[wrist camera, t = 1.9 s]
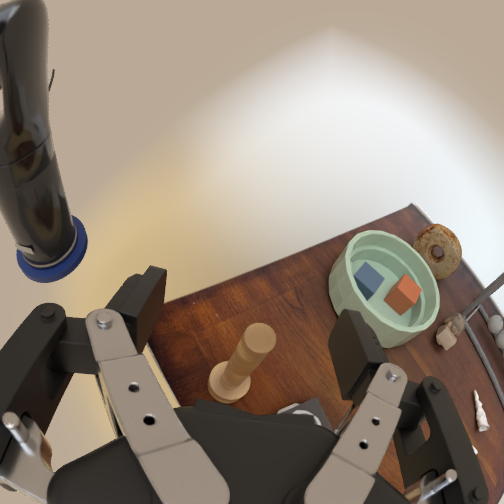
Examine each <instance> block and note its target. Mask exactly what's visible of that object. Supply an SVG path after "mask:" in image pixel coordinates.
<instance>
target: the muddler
mask: <svg viewBox="0 0 504 504" xmlns="http://www.w3.org/2000/svg"><path fill="white" fill-rule="evenodd" d="M275 345H276V335H275V332H274V331H273V329H272V328H271V327H269V326H268V325H266V324H263V323H254V324H252V325H250V326H249V327H248V328H247V329H246V330H245V332H244V334H243V336H242V338H241V340H240V342H239V343H238V345H237V347H236V349H235V351H234V353H233V355H232V356H231V358H230V360H229V361H225V362H221V363H219V364H218V365H216V366H215V367H214V368H213V370H212V371H211V374H210V376H209V379H208V384H207V385H208V390H209V393H210V394H211V396H212V397H213V398H214V399H215V400H217V401H219V402H221V403H233V402H236V401H238V400H239V399H240V398H241V397H243V396H244V395H245V394H246V393H247V392H248V390H249V388H250V384H251V378H250V374H251V373H252V372H253V370H254V369H255V368H256V367H257V366H258V365H259V364H260V363H261V362H262V361H263V359H264V358H265V357H266V356H267V355H268V354H269V353H270V352H271V350H272V349H273V348H274V347H275Z"/></svg>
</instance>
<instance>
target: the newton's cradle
mask: <svg viewBox="0 0 504 504" xmlns="http://www.w3.org/2000/svg"><path fill="white" fill-rule="evenodd" d="M503 284H504V273H503V274H501V275H500V276H499V277H498V278H497V279H496V280H495V281H494V282H493V283H491V284H490V285H489V286H488V287H487V288H486V289H484V290H483V291H482V292H481V293H480V294H479V295H478V296H477V299H476V300H475V301H474V302H473V303H471V304H470V305H469V306H468V307H466V308H465V309H464V310H463V311H462V314H461V315H462V316H463V318H464V320H465V322H466V327H465V329H466V331H467V333H468V335H469V337H470V339H471V340H472V342H473V344H474V346H475V348H476V350H477V352H478V354H479V356H480V358H481V359H482V361H483V364H484V366H485V368H486V370H487V372H488V374H489V376H490V378H491V380H492V383H493V385H494V387H495V389H496V392H497V394H498V396H499V399H500V401H501V403H502V406H503V408H504V395H503V392H502V390H501V388H500V385H499V383H498V381H497V379H496V376H495V374H494V372H493V370H492V368H491V366H490V364H489V362H488V360H487V357H486V356H485V354H484V352H483V350H482V348H481V346H480V344H479V342H478V340H477V338H476V336H475V335H474V333H473V331H472V329H471V327H470V326H469V324H468V322H467V321H468V320H469V319H470V317H471V316H472V315H473V314H474V313H475V312H476V311H477V310H478V309H479V311H480V312H481V314H482V316H483V318H484V319H485V321H486V323H487V325H488V330H489V331H490V332H491V333H492V334H493V336H494V338H495V342H496V345H497V347H499V348H500V350H501V352H502V354H503V359H504V330H502V331H501V329H502V327H503V320H504V318H503V319H502V318H501V317H500V316H498V315H494V316H492V317H491V318H490V319H489V317H488V315H487V313H486V312H485V310H484V308H483V306H482V305H481V303H482V302H483V301H484V300H485V299H487V298H488V297H489V296H490V295H491V294H493V293H494V292H495V291H496V290H497V289H499V288H500V287H501V286H502V285H503ZM476 306H477V308H476V309H475V311H474V312H473V313H472V314H471V315H470V316H469V317H468V318H467V319H466V315H467V313H469V312H470V311H471V310H473V309H474V308H475V307H476ZM498 332H499V333H498Z"/></svg>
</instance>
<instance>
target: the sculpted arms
mask: <svg viewBox="0 0 504 504" xmlns="http://www.w3.org/2000/svg"><path fill="white" fill-rule="evenodd" d="M474 396H475V404H476V406H475V408H476V410H477V412H476V417H477V418H476V420H477V423H478V427H479V431H484V430H488V429H489V425H488V423H487V420H486V417H485V413H484V411H483V409H482V407H481V406H482V403H480V401H479V400H478V399H479V397H478V394H477V392H476V390H475V389H474ZM472 447H473V449H474V452H475V454H477V453H478V452H477V450H476V449H475V448H474V446H472Z"/></svg>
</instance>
